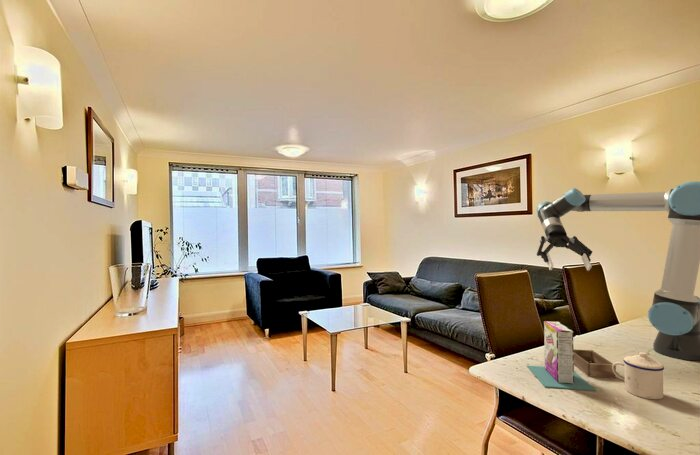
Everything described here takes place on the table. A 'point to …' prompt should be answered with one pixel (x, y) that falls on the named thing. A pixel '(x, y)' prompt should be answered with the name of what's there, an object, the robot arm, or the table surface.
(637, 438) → the table surface
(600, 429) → the table surface
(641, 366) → the teacup with lid
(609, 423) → the table surface
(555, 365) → the candy bar box
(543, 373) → the rubber mat
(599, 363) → the walnut sleeve
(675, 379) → the table surface
